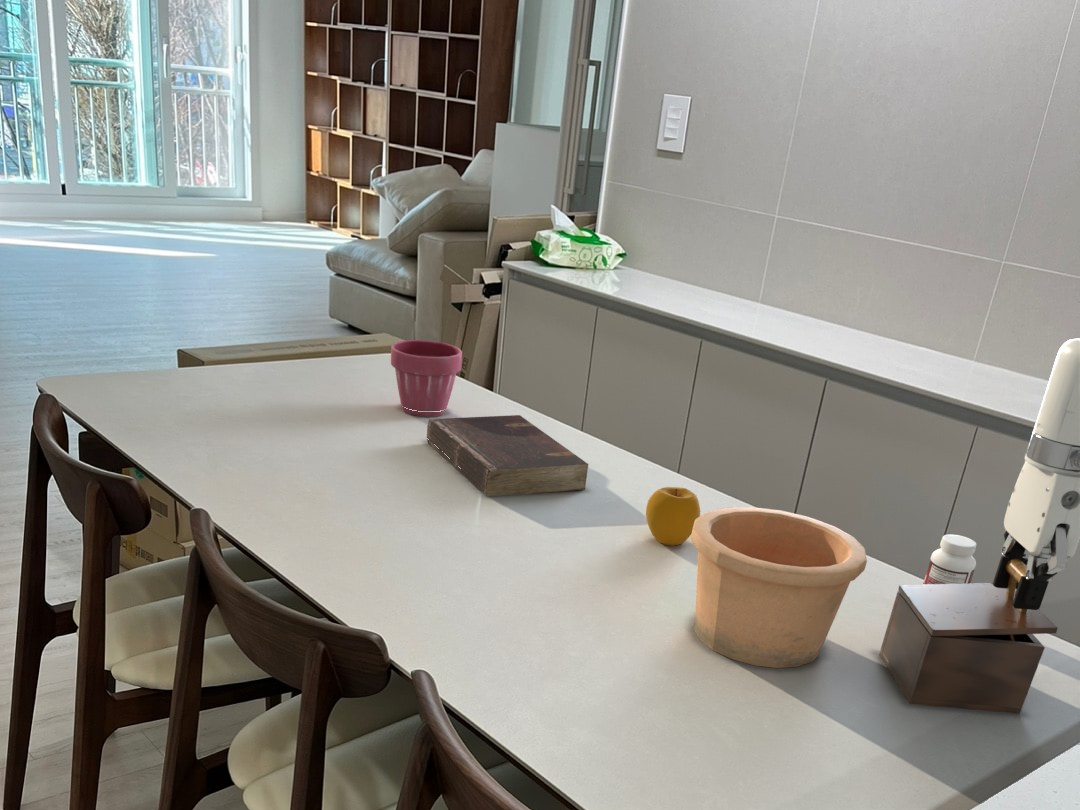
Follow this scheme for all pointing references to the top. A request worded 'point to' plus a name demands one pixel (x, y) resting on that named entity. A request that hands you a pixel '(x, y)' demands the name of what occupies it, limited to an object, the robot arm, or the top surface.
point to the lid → (975, 608)
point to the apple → (672, 514)
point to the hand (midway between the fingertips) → (1015, 596)
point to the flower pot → (425, 374)
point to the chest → (958, 665)
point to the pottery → (770, 583)
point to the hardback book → (506, 455)
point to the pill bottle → (952, 561)
